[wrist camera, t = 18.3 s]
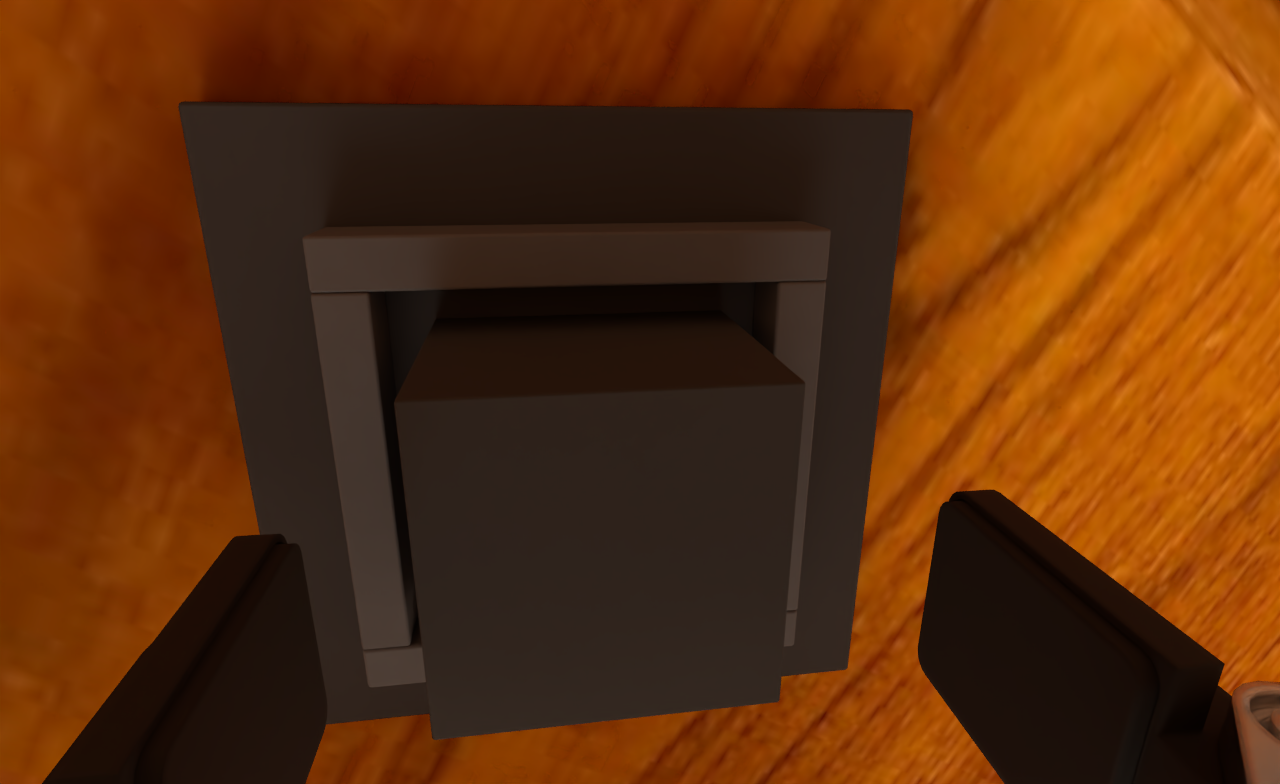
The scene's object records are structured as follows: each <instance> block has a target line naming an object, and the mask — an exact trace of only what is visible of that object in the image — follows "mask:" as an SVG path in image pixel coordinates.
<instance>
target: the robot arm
mask: <svg viewBox="0 0 1280 784" xmlns="http://www.w3.org/2000/svg"><path fill="white" fill-rule="evenodd" d="M918 657H919V661H920V665H921V667H922V670H923V671H924V673H925V675H926V676H927V678H928V679H929V680H930V682H931V683H932V684H933V686H934V687H935V689H936V690H937V691H938V693H939V694H940V695H941V697H942V698H943V700H944V701H945V702H946V704H947V705H948V706H949V708H950V709H951V711H952V712H953V713H954V715H955V716H956V717H957V719H958V720H959V722H960V723H961V724H962V726H963V727H964V728H965V730H966V731H967V733H968V734H969V735H970V737H971V738H972V739H973V741H974V742H975V744H976V745H977V746H978V748H979V749H980V750H981V752H982V753H983V755H984V756H985V757H986V759H987V760H988V761H989V763H990V764H991V766H992V767H993V768H994V770H995V771H996V772H997V774H998V775H999V777H1000V778H1001V779H1002V781H1003V782H1004V783H1005V784H1280V683H1279V682H1266V681H1255V682H1250V683H1245V684H1242V685H1241V686H1239V687H1238V688H1237V689H1235V690H1234V691H1233V694H1232V696H1231V695H1229V694H1228V693H1227V692H1226V691H1224V690H1223V689H1222V688H1221V687H1219V686H1218V682H1219V679H1220V676H1221V673H1222V670H1223V667H1224V663H1223V662H1221V661H1220V660H1219V659H1218V658H1216V657H1215V656H1214V655H1212V654H1211V653H1210V652H1208V651H1207V650H1206V649H1204V648H1203V647H1202V646H1200V645H1199V644H1198V643H1196V642H1195V641H1194V640H1193V639H1191V638H1190V637H1189V636H1187V635H1186V634H1185V633H1183V632H1182V631H1181V630H1179V629H1178V628H1177V627H1175V626H1174V625H1173V624H1172V623H1170V622H1169V621H1168V620H1166V619H1165V618H1164V617H1162V616H1161V615H1160V614H1158V613H1157V612H1156V611H1154V610H1153V609H1152V608H1151V607H1149V606H1148V605H1147V604H1145V603H1144V602H1143V601H1141V600H1140V599H1139V598H1137V597H1136V596H1135V595H1133V594H1132V593H1131V592H1129V591H1128V590H1127V589H1126V588H1124V587H1123V586H1122V585H1120V584H1119V583H1118V582H1116V581H1115V580H1114V579H1112V578H1111V577H1110V576H1108V575H1107V574H1106V573H1105V572H1103V571H1102V570H1101V569H1099V568H1098V567H1097V566H1095V565H1094V564H1093V563H1091V562H1090V561H1089V560H1087V559H1086V558H1085V557H1084V556H1082V555H1081V554H1080V553H1078V552H1077V551H1076V550H1074V549H1073V548H1072V547H1070V546H1069V545H1068V544H1066V543H1065V542H1064V541H1062V540H1061V539H1060V538H1059V537H1057V536H1056V535H1055V534H1053V533H1052V532H1051V531H1049V530H1048V529H1047V528H1045V527H1044V526H1043V525H1041V524H1040V523H1039V522H1038V521H1036V520H1035V519H1034V518H1032V517H1031V516H1030V515H1028V514H1027V513H1026V512H1024V511H1023V510H1022V509H1020V508H1019V507H1018V506H1017V505H1015V504H1014V503H1013V502H1011V501H1010V500H1009V499H1007V498H1006V497H1005V496H1003V495H1002V494H1001V493H999V492H997V491H995V490H978V491H962V492H956V493H954V494H953V495H952V496H951V498H950V499H949V502H945V503H943V504H942V506H941V507H940V511H939V516H938V523H937V529H936V535H935V542H934V548H933V554H932V561H931V567H930V573H929V580H928V586H927V593H926V599H925V605H924V612H923V618H922V624H921V631H920V637H919V643H918ZM326 721H327V697H326V691H325V686H324V680H323V674H322V668H321V662H320V657H319V651H318V645H317V639H316V633H315V627H314V622H313V616H312V610H311V604H310V598H309V592H308V587H307V581H306V575H305V569H304V563H303V558H302V553H301V549H300V547H299V545H298V544H297V543H290V544H287V541H286V539H285V537H284V536H283V535H282V534H265V535H249V536H236V537H234V538H233V539H232V540H231V541H230V542H229V544H228V545H227V546H226V547H225V549H224V550H223V551H222V553H221V554H220V555H219V557H218V558H217V559H216V561H215V562H214V563H213V564H212V566H211V567H210V568H209V570H208V571H207V572H206V574H205V575H204V576H203V578H202V579H201V580H200V581H199V583H198V584H197V585H196V587H195V588H194V589H193V591H192V592H191V593H190V595H189V596H188V597H187V598H186V600H185V601H184V602H183V604H182V605H181V606H180V608H179V609H178V610H177V612H176V613H175V614H174V615H173V617H172V618H171V619H170V621H169V622H168V623H167V625H166V626H165V627H164V629H163V630H162V631H161V632H160V634H159V635H158V636H157V638H156V639H155V640H154V642H153V643H152V644H151V645H150V646H149V647H148V648H147V649H146V650H145V651H144V652H143V653H142V654H141V656H140V657H139V658H138V659H137V661H136V662H135V663H134V665H133V666H132V667H131V669H130V670H129V671H128V672H127V674H126V675H125V676H124V678H123V679H122V680H121V682H120V683H119V684H118V685H117V687H116V688H115V689H114V691H113V692H112V693H111V695H110V696H109V697H108V698H107V700H106V701H105V702H104V704H103V705H102V706H101V708H100V709H99V710H98V711H97V713H96V714H95V715H94V717H93V718H92V719H91V721H90V722H89V723H88V724H87V726H86V727H85V728H84V730H83V731H82V732H81V734H80V735H79V736H78V737H77V739H76V740H75V741H74V743H73V744H72V745H71V747H70V748H69V749H68V750H67V752H66V753H65V754H64V756H63V757H62V758H61V760H60V761H59V762H58V763H57V765H56V766H55V767H54V769H53V770H52V771H51V773H50V774H49V775H48V776H47V778H46V779H45V780H44V782H43V783H42V784H305V783H306V780H307V777H308V775H309V772H310V769H311V766H312V764H313V761H314V758H315V755H316V752H317V750H318V747H319V744H320V741H321V739H322V736H323V733H324V730H325V726H326Z"/></svg>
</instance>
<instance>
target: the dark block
mask: <svg viewBox="0 0 1280 784" xmlns="http://www.w3.org/2000/svg"><path fill="white" fill-rule="evenodd" d="M804 396H805V382H804V381H803V380H802V379H801V378H800V377H799V376H797V375H796V374H795V373H794V372H793V371H792V370H790V369H789V368H788V367H787V366H786V365H785V364H783V363H782V362H781V361H780V360H779V359H778V358H776V357H775V356H774V355H773V354H772V353H770V352H769V351H768V350H767V349H766V348H765V347H763V346H762V345H761V344H760V343H759V342H758V341H756V340H755V339H754V338H753V337H752V336H751V335H749V334H748V333H747V332H746V331H745V330H744V329H742V328H741V327H740V326H739V325H738V324H737V323H735V322H734V321H733V320H732V319H731V318H730V317H728V316H727V315H726V314H725V313H724V312H723V311H721V310H715V311H682V312H648V313H614V314H581V315H547V316H514V317H480V318H446V319H436V320H435V321H434V323H433V325H432V327H431V329H430V331H429V333H428V335H427V337H426V339H425V341H424V343H423V345H422V347H421V349H420V351H419V353H418V355H417V357H416V359H415V361H414V363H413V365H412V367H411V369H410V371H409V373H408V375H407V377H406V379H405V381H404V383H403V385H402V387H401V389H400V391H399V393H398V395H397V397H396V399H395V402H394V406H395V415H396V424H397V433H398V442H399V450H400V459H401V468H402V477H403V485H404V494H405V503H406V512H407V521H408V529H409V538H410V547H411V556H412V565H413V573H414V582H415V591H416V600H417V608H418V617H419V626H420V635H421V644H422V652H423V661H424V670H425V679H426V688H427V696H428V705H429V714H430V723H431V731H432V738H433V739H434V740H438V739H447V738H456V737H465V736H474V735H483V734H492V733H501V732H511V731H520V730H529V729H538V728H547V727H556V726H565V725H574V724H583V723H592V722H601V721H610V720H619V719H628V718H637V717H646V716H655V715H664V714H673V713H682V712H692V711H701V710H710V709H719V708H728V707H737V706H746V705H755V704H764V703H773V702H778V701H779V698H780V686H781V674H782V662H783V650H784V638H785V626H786V614H787V601H788V589H789V577H790V565H791V553H792V541H793V529H794V517H795V505H796V493H797V481H798V469H799V457H800V445H801V433H802V421H803V408H804Z"/></svg>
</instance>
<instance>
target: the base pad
mask: <svg viewBox="0 0 1280 784" xmlns="http://www.w3.org/2000/svg"><path fill="white" fill-rule="evenodd" d="M179 112H180V117H181V122H182V128H183V133H184V138H185V143H186V149H187V154H188V159H189V164H190V170H191V175H192V180H193V185H194V191H195V196H196V201H197V206H198V212H199V217H200V222H201V227H202V233H203V238H204V243H205V248H206V254H207V259H208V264H209V269H210V275H211V280H212V285H213V290H214V296H215V301H216V306H217V311H218V317H219V322H220V327H221V332H222V338H223V343H224V348H225V353H226V359H227V364H228V369H229V374H230V380H231V385H232V390H233V395H234V401H235V406H236V411H237V416H238V422H239V427H240V432H241V437H242V443H243V448H244V453H245V458H246V464H247V469H248V474H249V479H250V485H251V490H252V495H253V500H254V506H255V511H256V516H257V521H258V527H259V532H260V535H265V534H282V535H283V536H284V537H285V539H286V541H287V544H290V543H297V544H298V545H299V547H300V549H301V553H302V558H303V563H304V569H305V575H306V581H307V587H308V592H309V598H310V604H311V610H312V616H313V622H314V627H315V633H316V639H317V645H318V651H319V657H320V662H321V668H322V674H323V680H324V686H325V691H326V697H327V721H326V724H335V723H344V722H354V721H363V720H373V719H382V718H392V717H401V716H411V715H420V714H429V705H428V696H427V688H426V679H425V670H424V661H423V652H422V644H421V635H420V626H419V617H418V608H417V600H416V591H415V582H414V573H413V565H412V556H411V547H410V538H409V529H408V521H407V512H406V503H405V494H404V485H403V477H402V468H401V459H400V450H399V442H398V433H397V424H396V415H395V406H394V402H395V399H396V397H397V395H398V393H399V391H400V389H401V387H402V385H403V383H404V381H405V379H406V377H407V375H408V373H409V371H410V369H411V367H412V365H413V363H414V361H415V359H416V357H417V355H418V353H419V351H420V349H421V347H422V345H423V343H424V341H425V339H426V337H427V335H428V333H429V331H430V329H431V327H432V325H433V323H434V321H435V320H436V319H446V318H480V317H514V316H547V315H581V314H614V313H648V312H682V311H715V310H721V311H723V312H724V313H725V314H726V315H727V316H728V317H730V318H731V319H732V320H733V321H734V322H735V323H737V324H738V325H739V326H740V327H741V328H742V329H744V330H745V331H746V332H747V333H748V334H749V335H751V336H752V337H753V338H754V339H755V340H756V341H758V342H759V343H760V344H761V345H762V346H763V347H765V348H766V349H767V350H768V351H769V352H770V353H772V354H773V355H774V356H775V357H776V358H778V359H779V360H780V361H781V362H782V363H783V364H785V365H786V366H787V367H788V368H789V369H790V370H792V371H793V372H794V373H795V374H796V375H797V376H799V377H800V378H801V379H802V380H803V381H804V382H805V396H804V408H803V421H802V433H801V445H800V457H799V469H798V481H797V493H796V505H795V517H794V529H793V541H792V553H791V565H790V577H789V589H788V601H787V614H786V626H785V638H784V650H783V662H782V674H781V676H789V675H799V674H808V673H818V672H827V671H837V670H845V669H847V666H848V658H849V649H850V641H851V633H852V624H853V616H854V607H855V599H856V590H857V582H858V573H859V565H860V557H861V548H862V540H863V531H864V523H865V514H866V506H867V497H868V489H869V481H870V472H871V464H872V455H873V447H874V438H875V430H876V422H877V413H878V405H879V396H880V388H881V379H882V371H883V362H884V354H885V346H886V337H887V329H888V320H889V312H890V303H891V295H892V286H893V278H894V270H895V261H896V253H897V244H898V236H899V227H900V219H901V210H902V202H903V194H904V185H905V177H906V168H907V160H908V151H909V143H910V135H911V126H912V118H913V112H912V111H911V110H898V109H808V108H717V107H626V106H535V105H444V104H353V103H262V102H181V103H179Z"/></svg>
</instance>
